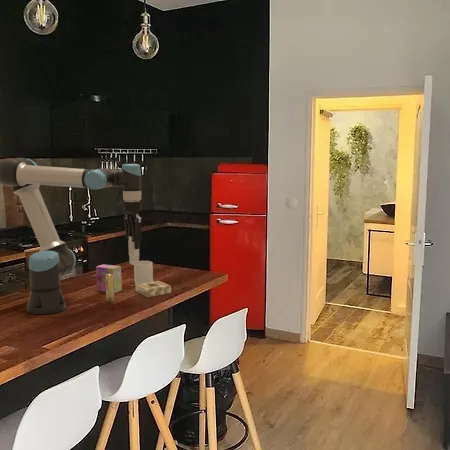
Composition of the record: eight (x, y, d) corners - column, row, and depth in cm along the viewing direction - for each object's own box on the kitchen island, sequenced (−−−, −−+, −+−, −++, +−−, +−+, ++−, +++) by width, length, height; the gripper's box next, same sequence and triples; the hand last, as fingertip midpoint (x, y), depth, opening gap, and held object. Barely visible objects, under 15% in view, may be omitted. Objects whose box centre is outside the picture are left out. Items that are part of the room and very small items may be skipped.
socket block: (147, 297, 237) (147, 289, 237) (135, 291, 247) (135, 284, 246) (171, 293, 244) (170, 285, 244) (158, 287, 254) (158, 280, 253)
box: (96, 291, 249) (95, 266, 247) (104, 288, 254) (103, 263, 252) (114, 293, 244) (113, 268, 242) (122, 290, 249) (121, 266, 247)
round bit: (108, 302, 229) (107, 275, 227) (105, 301, 231) (104, 274, 230) (115, 301, 231) (114, 274, 229) (112, 300, 233) (111, 273, 232)
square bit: (132, 264, 225) (131, 237, 223) (129, 263, 227) (128, 236, 226) (139, 264, 227) (138, 236, 225) (135, 262, 229) (135, 235, 228)
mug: (149, 287, 254) (148, 265, 252) (131, 287, 256) (131, 264, 254) (157, 281, 265) (157, 260, 264) (140, 281, 267) (140, 259, 266)
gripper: (149, 201, 219) (150, 257, 222) (132, 199, 232) (133, 252, 235) (132, 202, 215) (134, 259, 218) (116, 200, 228) (118, 253, 231)
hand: (134, 255), depth 227 cm, fingers closed on square bit, 3 cm apart
